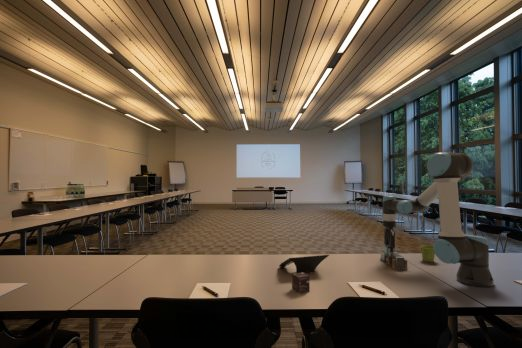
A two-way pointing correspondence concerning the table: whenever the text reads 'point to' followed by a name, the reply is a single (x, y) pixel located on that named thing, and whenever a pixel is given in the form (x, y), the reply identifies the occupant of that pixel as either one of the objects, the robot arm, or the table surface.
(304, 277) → the box
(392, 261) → the clip
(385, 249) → the connector
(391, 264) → the clip
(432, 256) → the plant pot
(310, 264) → the portable electronic device stand
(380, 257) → the end holder
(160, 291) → the table surface
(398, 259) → the cable bar
